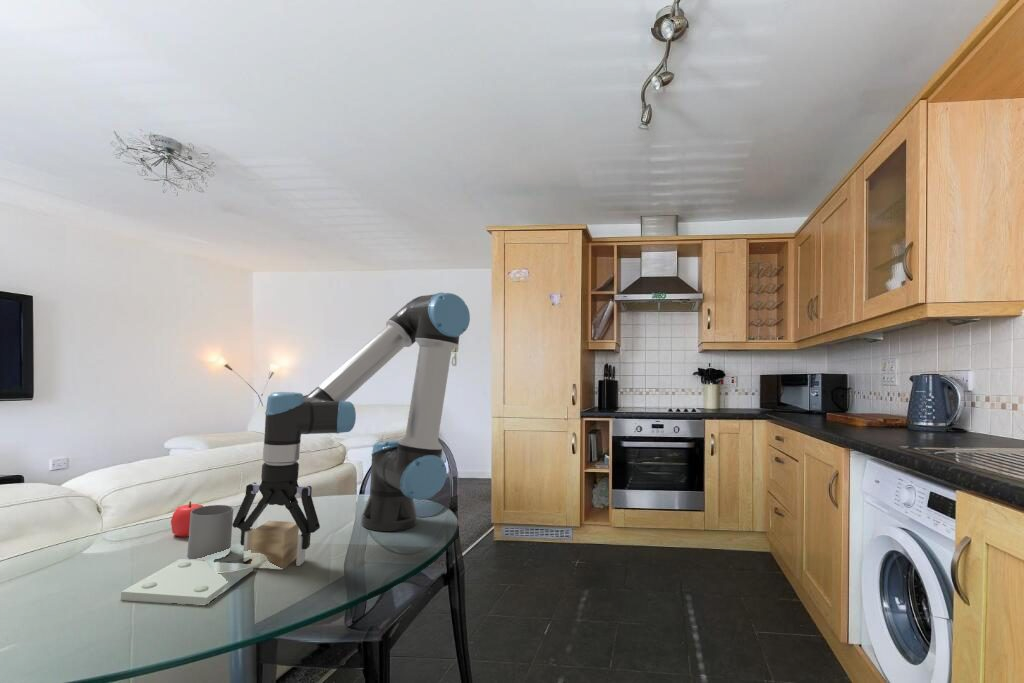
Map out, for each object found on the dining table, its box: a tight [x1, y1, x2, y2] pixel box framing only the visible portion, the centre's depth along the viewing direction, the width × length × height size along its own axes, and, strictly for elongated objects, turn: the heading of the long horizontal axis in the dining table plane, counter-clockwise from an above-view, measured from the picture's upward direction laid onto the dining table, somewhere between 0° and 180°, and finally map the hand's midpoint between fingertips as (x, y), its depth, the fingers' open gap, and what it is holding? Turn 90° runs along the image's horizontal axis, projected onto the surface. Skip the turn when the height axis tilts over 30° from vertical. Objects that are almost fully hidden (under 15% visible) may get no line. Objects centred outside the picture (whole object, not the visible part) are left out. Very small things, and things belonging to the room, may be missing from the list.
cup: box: [186, 504, 234, 559], centre depth 118 cm, size 8×8×10 cm
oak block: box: [251, 520, 300, 569], centre depth 115 cm, size 7×7×8 cm
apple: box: [170, 501, 204, 538], centre depth 130 cm, size 8×8×8 cm
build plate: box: [120, 558, 228, 605], centre depth 103 cm, size 16×16×2 cm
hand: (274, 561), depth 115 cm, fingers open, 11 cm apart
